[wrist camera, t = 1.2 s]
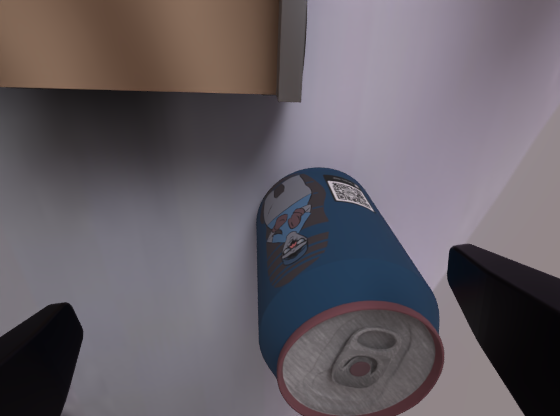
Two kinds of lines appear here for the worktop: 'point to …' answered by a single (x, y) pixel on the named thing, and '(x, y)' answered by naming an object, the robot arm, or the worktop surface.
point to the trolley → (155, 45)
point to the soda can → (341, 301)
